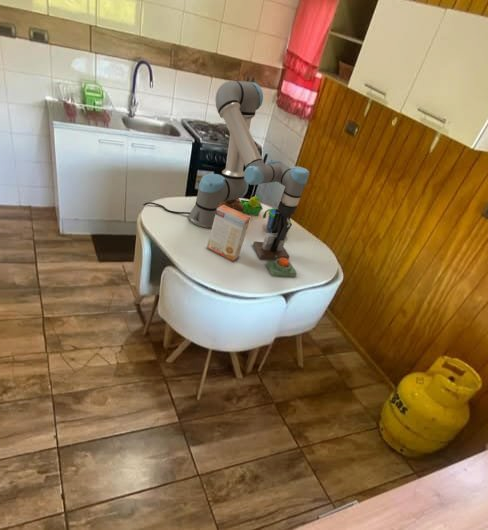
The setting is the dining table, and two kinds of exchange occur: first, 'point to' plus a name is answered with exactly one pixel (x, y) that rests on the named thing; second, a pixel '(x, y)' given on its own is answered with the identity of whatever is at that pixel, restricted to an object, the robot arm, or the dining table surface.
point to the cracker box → (228, 232)
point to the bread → (233, 204)
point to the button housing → (280, 269)
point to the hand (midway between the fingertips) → (272, 247)
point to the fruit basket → (251, 206)
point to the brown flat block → (269, 252)
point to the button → (283, 262)
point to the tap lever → (269, 241)
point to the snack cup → (271, 218)
